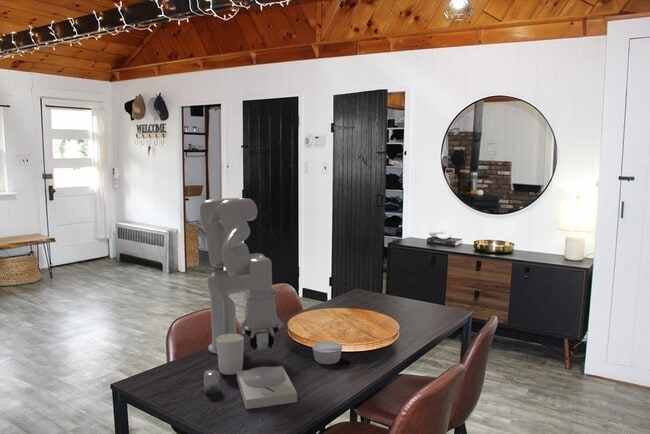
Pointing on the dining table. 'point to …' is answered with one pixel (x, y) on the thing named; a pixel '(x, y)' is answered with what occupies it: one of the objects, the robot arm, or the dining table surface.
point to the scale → (265, 387)
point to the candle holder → (230, 353)
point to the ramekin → (327, 352)
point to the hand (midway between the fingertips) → (262, 346)
